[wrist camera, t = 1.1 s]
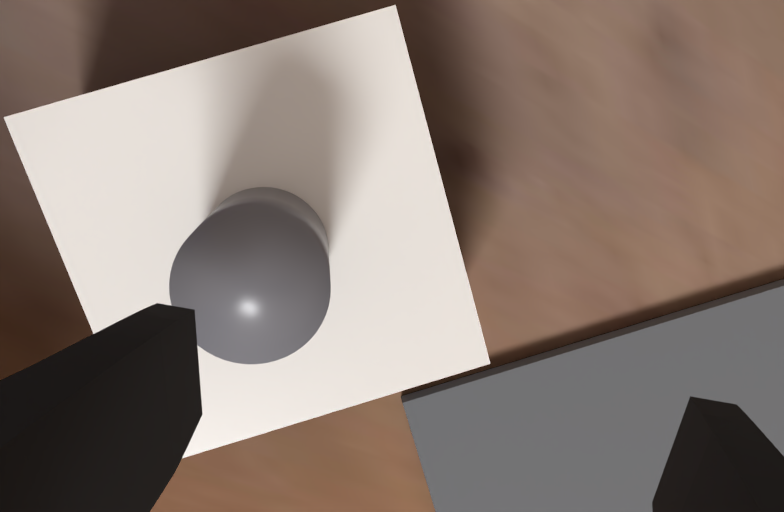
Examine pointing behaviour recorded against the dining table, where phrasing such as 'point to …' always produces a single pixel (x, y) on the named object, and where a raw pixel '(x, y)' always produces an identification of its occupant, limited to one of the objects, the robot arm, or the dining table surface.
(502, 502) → the mat
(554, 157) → the dining table surface
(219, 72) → the lid
